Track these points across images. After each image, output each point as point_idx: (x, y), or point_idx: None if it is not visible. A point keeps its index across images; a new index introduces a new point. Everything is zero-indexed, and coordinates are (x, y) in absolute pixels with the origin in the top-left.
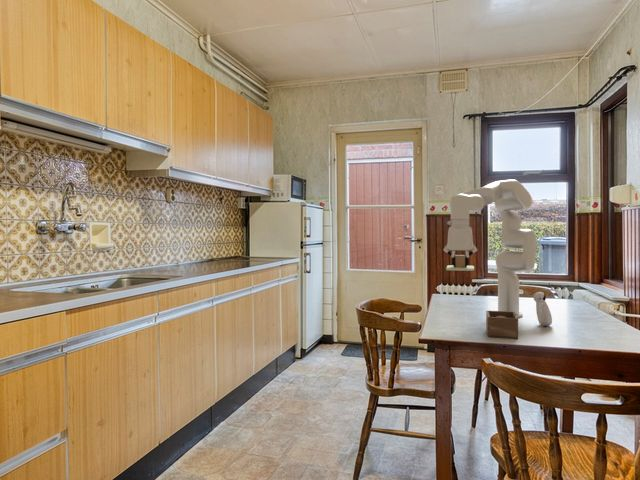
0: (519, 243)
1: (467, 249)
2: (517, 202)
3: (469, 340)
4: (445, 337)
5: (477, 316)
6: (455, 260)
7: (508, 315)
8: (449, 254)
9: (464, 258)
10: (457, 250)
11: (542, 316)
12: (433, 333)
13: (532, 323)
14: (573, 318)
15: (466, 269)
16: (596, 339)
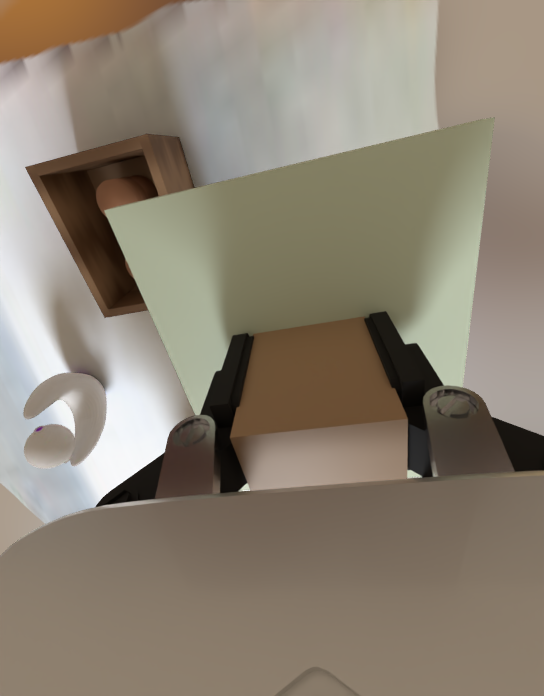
0: None
1: (107, 512)
2: None
3: (226, 18)
4: (338, 19)
5: None
6: (381, 363)
7: (128, 300)
8: (537, 438)
9: (247, 401)
10: (386, 481)
11: (66, 379)
12: (401, 83)
13: (129, 399)
14: (73, 476)
15: (199, 187)
16: None
